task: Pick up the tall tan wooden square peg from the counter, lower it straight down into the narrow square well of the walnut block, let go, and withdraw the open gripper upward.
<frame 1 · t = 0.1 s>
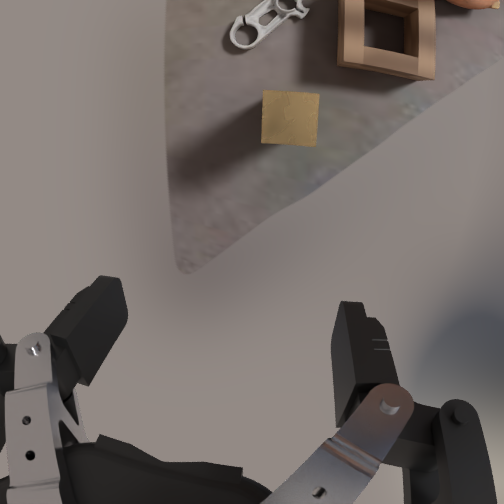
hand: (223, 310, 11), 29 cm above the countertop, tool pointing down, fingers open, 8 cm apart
bracket: (277, 1, 28), on the countertop
tan wooden square peg: (290, 110, 34), on the countertop
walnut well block: (380, 33, 27), on the countertop
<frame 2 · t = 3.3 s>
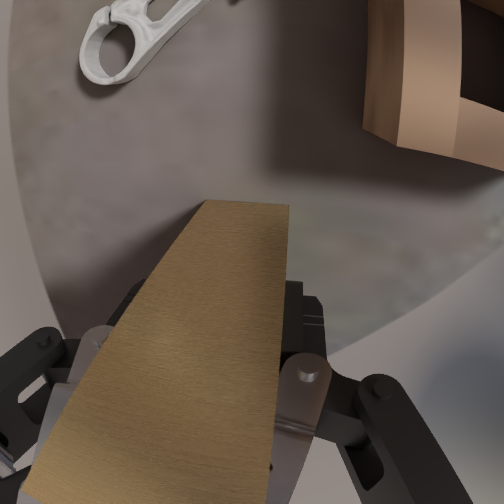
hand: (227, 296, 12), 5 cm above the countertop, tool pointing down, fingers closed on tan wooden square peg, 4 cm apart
tan wooden square peg: (246, 240, 16), on the countertop, touching gripper
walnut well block: (464, 50, 10), on the countertop
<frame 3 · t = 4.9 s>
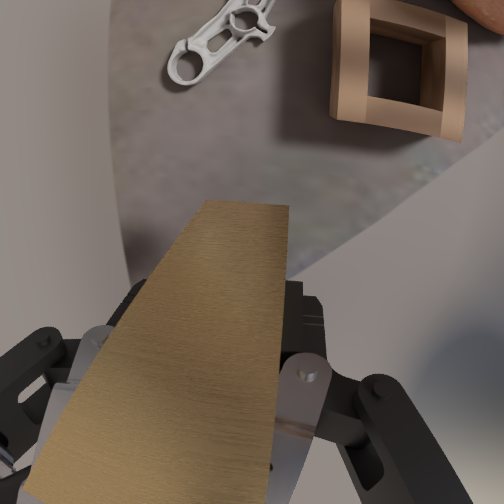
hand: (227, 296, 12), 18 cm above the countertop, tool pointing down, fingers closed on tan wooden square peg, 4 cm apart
bracket: (235, 17, 21), on the countertop
tan wooden square peg: (246, 240, 16), point 13 cm above the countertop, touching gripper
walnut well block: (389, 69, 21), on the countertop
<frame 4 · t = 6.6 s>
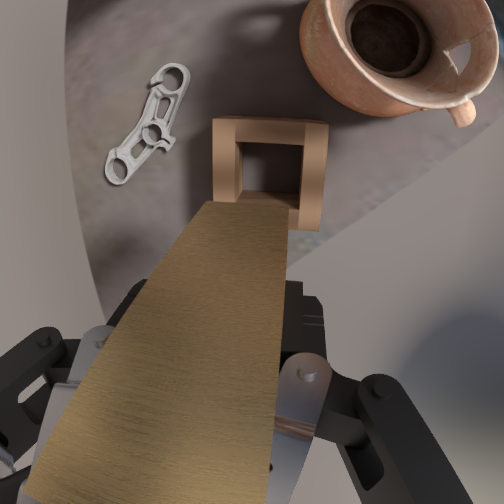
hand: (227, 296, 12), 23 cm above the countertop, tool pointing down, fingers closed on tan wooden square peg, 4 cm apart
bracket: (150, 126, 32), on the countertop
tan wooden square peg: (246, 240, 16), point 18 cm above the countertop, touching gripper
ceramic jug: (366, 42, 25), on the countertop
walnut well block: (271, 164, 32), on the countertop
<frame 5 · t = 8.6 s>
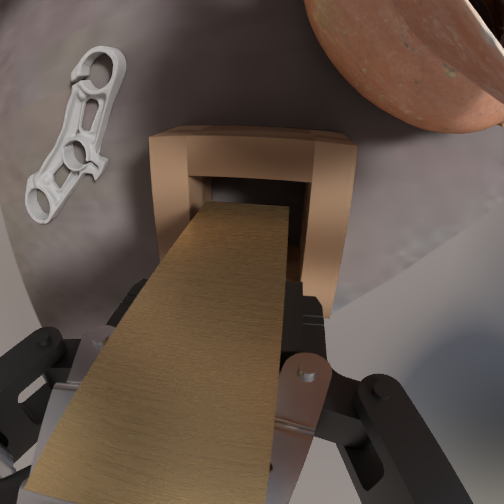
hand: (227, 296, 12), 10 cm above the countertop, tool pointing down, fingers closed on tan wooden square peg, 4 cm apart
bracket: (77, 141, 20), on the countertop
tan wooden square peg: (246, 241, 16), point 5 cm above the countertop, touching gripper
ceramic jug: (408, 11, 13), on the countertop
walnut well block: (257, 202, 21), on the countertop
when the fingers open (6 cm above the countertop, at t = 10.1 s): tan wooden square peg drops 2 cm, resting in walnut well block.
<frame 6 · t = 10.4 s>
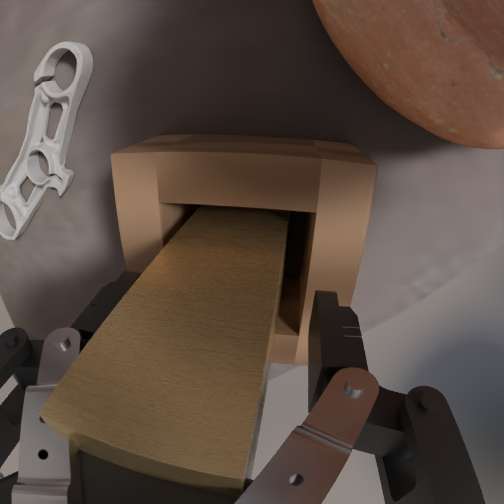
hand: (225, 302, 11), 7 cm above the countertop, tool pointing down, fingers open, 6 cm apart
bracket: (42, 150, 17), on the countertop
tan wooden square peg: (251, 227, 17), resting in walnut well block
ceramic jug: (430, 0, 10), on the countertop
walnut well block: (249, 226, 17), on the countertop
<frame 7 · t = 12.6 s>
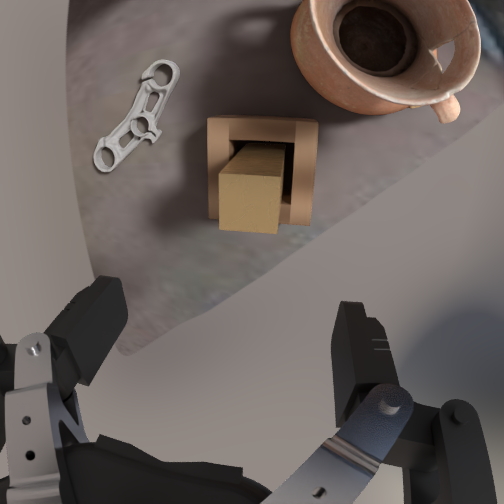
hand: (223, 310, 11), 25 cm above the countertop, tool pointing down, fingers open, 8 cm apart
bracket: (138, 118, 33), on the countertop
tan wooden square peg: (265, 161, 33), resting in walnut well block
ceramic jug: (356, 43, 26), on the countertop
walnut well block: (265, 161, 33), on the countertop
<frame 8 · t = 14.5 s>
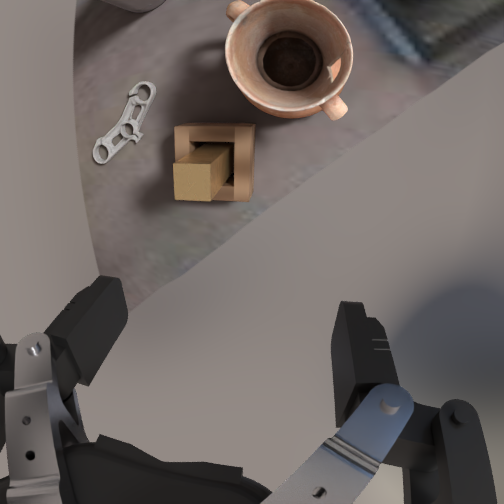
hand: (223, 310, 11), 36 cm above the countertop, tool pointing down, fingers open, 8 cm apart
bracket: (126, 124, 44), on the countertop
tan wooden square peg: (220, 156, 44), resting in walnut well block
ceramic jug: (287, 63, 37), on the countertop
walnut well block: (219, 156, 44), on the countertop
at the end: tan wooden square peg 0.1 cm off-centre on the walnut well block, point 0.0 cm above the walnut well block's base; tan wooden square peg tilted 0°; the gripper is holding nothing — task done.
